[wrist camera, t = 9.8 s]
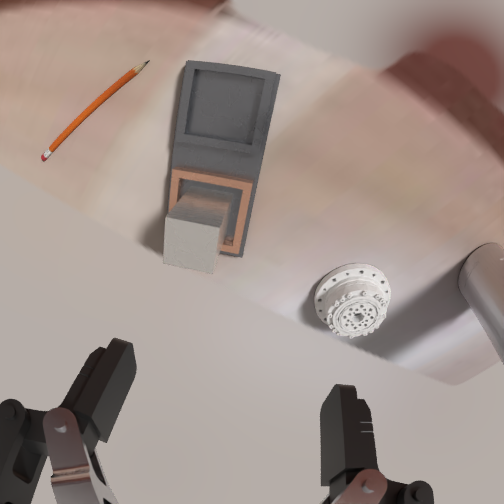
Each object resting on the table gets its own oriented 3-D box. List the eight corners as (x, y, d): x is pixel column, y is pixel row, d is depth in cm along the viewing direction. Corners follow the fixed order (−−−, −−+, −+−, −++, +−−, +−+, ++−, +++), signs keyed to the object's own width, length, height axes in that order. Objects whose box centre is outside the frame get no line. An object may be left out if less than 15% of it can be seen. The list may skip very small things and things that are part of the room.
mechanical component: (298, 292, 38) (341, 333, 41) (299, 316, 34) (345, 356, 37) (363, 246, 34) (400, 295, 37) (372, 267, 30) (410, 317, 33)
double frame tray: (280, 74, 25) (280, 73, 23) (243, 253, 35) (241, 262, 34) (189, 61, 25) (183, 59, 23) (168, 237, 35) (162, 245, 33)
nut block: (233, 193, 31) (219, 228, 24) (226, 232, 33) (212, 274, 26) (191, 185, 31) (165, 217, 24) (186, 224, 33) (163, 263, 26)
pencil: (43, 154, 31) (39, 156, 30) (149, 57, 25) (146, 57, 24) (47, 159, 31) (43, 161, 30) (153, 63, 25) (150, 63, 25)
